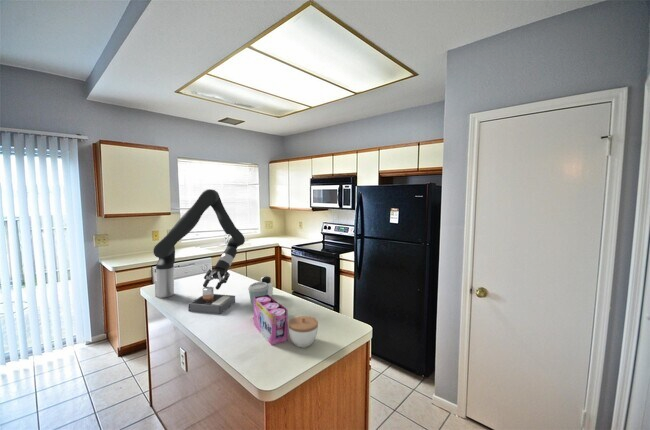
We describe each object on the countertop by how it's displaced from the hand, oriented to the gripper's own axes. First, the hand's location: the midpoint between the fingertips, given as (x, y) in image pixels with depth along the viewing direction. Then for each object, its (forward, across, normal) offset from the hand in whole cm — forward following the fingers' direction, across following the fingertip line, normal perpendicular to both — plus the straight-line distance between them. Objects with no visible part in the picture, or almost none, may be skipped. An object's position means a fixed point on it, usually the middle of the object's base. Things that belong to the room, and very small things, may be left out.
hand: (210, 287), depth 153 cm
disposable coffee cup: (+5, +28, +11) cm, 31 cm away
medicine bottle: (-11, +19, +26) cm, 34 cm away
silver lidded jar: (+8, 0, +6) cm, 10 cm away
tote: (+8, +3, +7) cm, 11 cm away
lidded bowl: (+19, +63, -4) cm, 66 cm away
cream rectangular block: (+7, +8, +6) cm, 12 cm away
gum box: (+17, +45, -1) cm, 48 cm away
